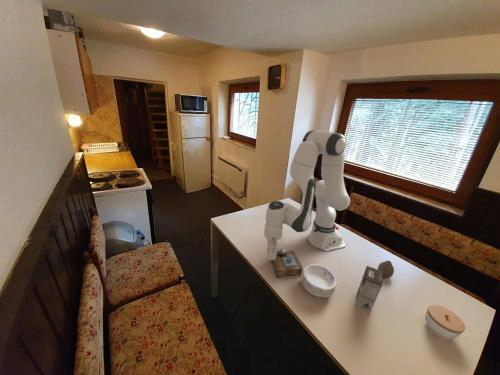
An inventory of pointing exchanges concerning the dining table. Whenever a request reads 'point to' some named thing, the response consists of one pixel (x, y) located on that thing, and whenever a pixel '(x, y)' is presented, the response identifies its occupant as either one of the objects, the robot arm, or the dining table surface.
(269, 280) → the dining table surface
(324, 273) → the white round bowl
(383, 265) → the vase
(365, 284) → the coffee box
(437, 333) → the lidded jar
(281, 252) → the lever handle
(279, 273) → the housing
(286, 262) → the cover
